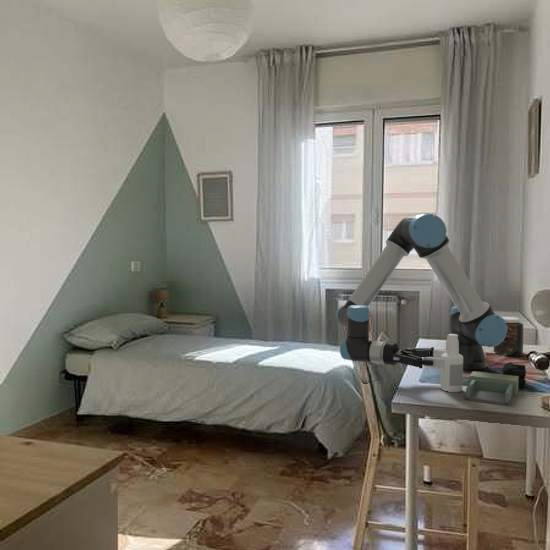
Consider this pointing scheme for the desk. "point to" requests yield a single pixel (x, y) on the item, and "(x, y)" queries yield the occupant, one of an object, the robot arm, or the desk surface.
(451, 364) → the spray bottle
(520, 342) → the jar
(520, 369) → the end cap
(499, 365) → the desk surface
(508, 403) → the chute bracket
